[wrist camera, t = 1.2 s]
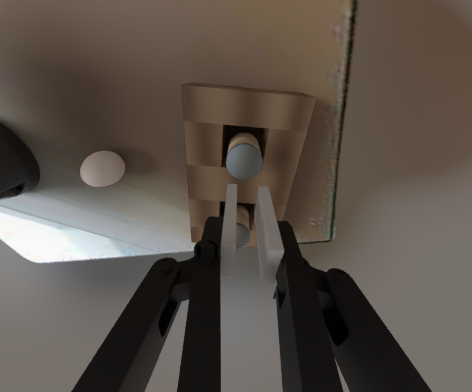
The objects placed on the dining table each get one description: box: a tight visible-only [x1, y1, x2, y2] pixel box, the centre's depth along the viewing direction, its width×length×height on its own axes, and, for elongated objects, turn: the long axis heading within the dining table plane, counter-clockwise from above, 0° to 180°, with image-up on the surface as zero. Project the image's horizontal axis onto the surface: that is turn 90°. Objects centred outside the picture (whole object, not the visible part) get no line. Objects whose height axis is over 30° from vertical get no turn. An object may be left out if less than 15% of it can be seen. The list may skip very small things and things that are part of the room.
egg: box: [80, 151, 125, 187], centre depth 31 cm, size 5×5×8 cm
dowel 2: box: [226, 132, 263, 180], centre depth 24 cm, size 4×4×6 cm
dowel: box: [236, 204, 250, 248], centre depth 31 cm, size 4×4×6 cm
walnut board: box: [182, 83, 316, 247], centre depth 32 cm, size 16×26×6 cm, turn 175°
